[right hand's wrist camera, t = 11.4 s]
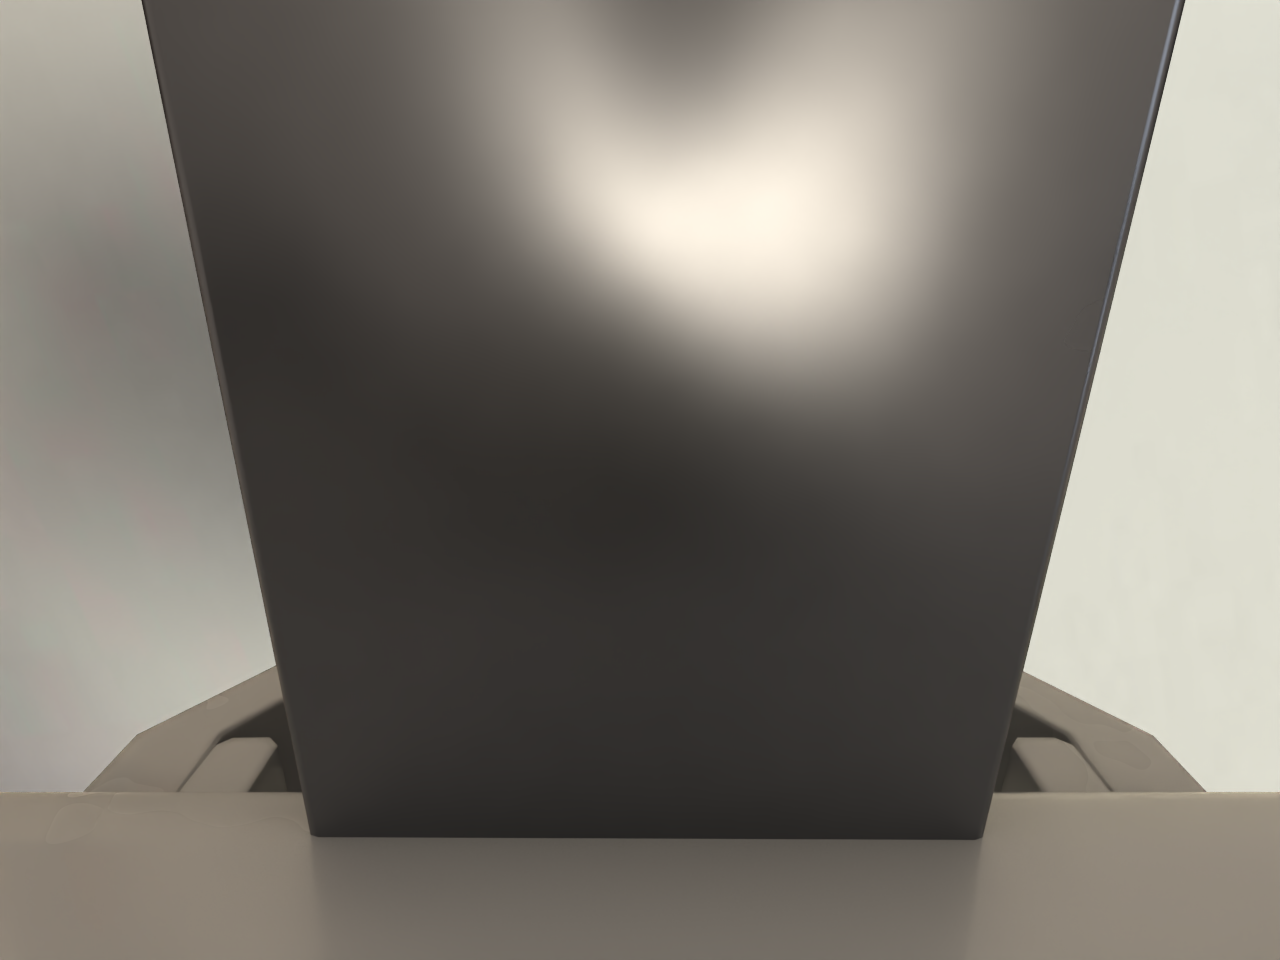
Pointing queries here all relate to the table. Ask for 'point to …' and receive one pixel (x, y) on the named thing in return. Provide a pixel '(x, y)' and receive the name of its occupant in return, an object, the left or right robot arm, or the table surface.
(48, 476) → the table surface
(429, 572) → the bar
